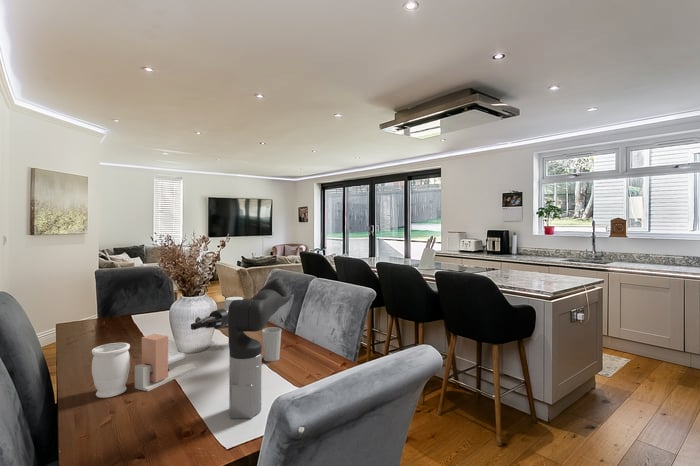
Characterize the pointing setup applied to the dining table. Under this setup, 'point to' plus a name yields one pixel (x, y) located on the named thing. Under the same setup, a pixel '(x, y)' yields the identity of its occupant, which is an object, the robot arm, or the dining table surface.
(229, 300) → the supplement tub
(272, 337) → the cup
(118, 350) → the jar
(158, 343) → the salmon pink rectangular block
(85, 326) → the dining table surface
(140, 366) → the pipe stand
